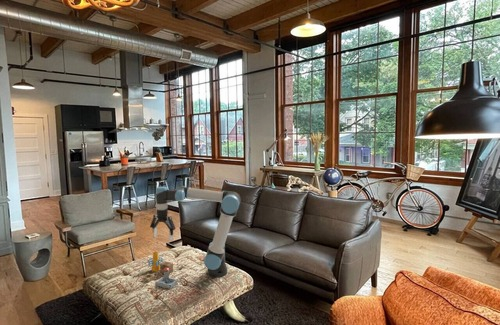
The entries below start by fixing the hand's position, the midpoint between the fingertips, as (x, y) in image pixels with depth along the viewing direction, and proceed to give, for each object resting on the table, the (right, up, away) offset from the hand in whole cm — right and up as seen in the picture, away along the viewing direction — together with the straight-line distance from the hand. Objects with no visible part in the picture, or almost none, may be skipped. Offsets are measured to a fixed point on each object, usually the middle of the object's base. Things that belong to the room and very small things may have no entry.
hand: (163, 238), depth 207 cm
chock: (-2, -30, +14) cm, 33 cm away
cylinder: (-11, -29, +18) cm, 36 cm away
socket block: (-12, -31, +3) cm, 33 cm away
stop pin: (+4, -31, -4) cm, 31 cm away
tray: (+4, -31, -4) cm, 32 cm away
